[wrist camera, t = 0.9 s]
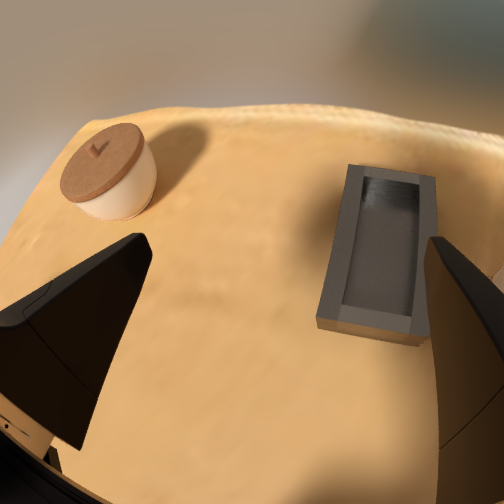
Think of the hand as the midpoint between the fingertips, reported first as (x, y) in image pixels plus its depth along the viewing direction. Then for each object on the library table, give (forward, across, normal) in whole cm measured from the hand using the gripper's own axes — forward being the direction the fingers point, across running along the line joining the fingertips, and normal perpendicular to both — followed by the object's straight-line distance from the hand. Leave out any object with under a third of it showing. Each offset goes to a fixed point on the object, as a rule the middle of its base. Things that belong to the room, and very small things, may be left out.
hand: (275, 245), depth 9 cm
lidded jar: (+20, +22, +9) cm, 31 cm away
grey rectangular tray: (+14, -5, +11) cm, 18 cm away
